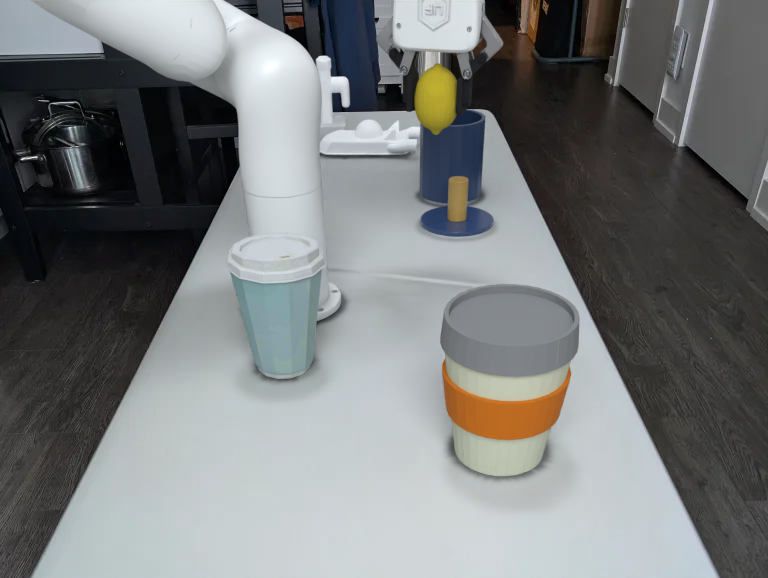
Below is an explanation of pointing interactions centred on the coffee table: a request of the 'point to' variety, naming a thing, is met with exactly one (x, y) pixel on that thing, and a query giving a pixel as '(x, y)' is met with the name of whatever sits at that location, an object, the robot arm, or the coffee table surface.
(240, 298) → the disposable coffee cup
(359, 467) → the coffee table surface
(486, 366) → the reusable coffee cup
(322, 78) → the white faucet
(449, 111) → the lemon
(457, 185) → the tin lid
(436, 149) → the tin
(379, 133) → the plane toy
